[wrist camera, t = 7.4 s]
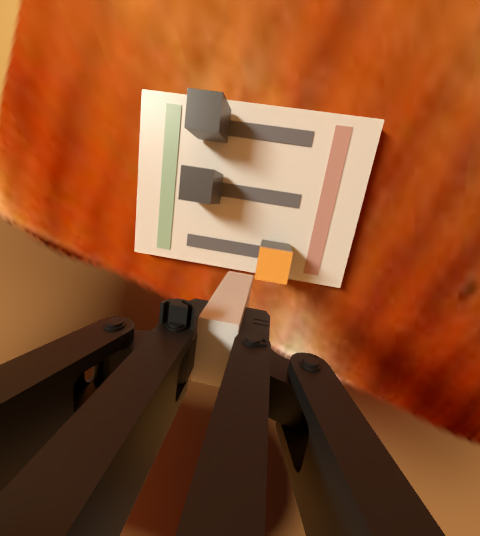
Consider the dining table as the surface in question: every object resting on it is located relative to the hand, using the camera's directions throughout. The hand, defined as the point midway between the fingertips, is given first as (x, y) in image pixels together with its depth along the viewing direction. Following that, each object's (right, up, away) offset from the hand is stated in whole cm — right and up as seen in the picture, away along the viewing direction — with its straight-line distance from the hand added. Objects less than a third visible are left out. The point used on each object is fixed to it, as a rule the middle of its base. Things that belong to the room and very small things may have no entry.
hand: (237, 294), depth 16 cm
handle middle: (-3, +10, +12) cm, 16 cm away
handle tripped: (+4, +3, +13) cm, 14 cm away
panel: (+1, +10, +14) cm, 17 cm away
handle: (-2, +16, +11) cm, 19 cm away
